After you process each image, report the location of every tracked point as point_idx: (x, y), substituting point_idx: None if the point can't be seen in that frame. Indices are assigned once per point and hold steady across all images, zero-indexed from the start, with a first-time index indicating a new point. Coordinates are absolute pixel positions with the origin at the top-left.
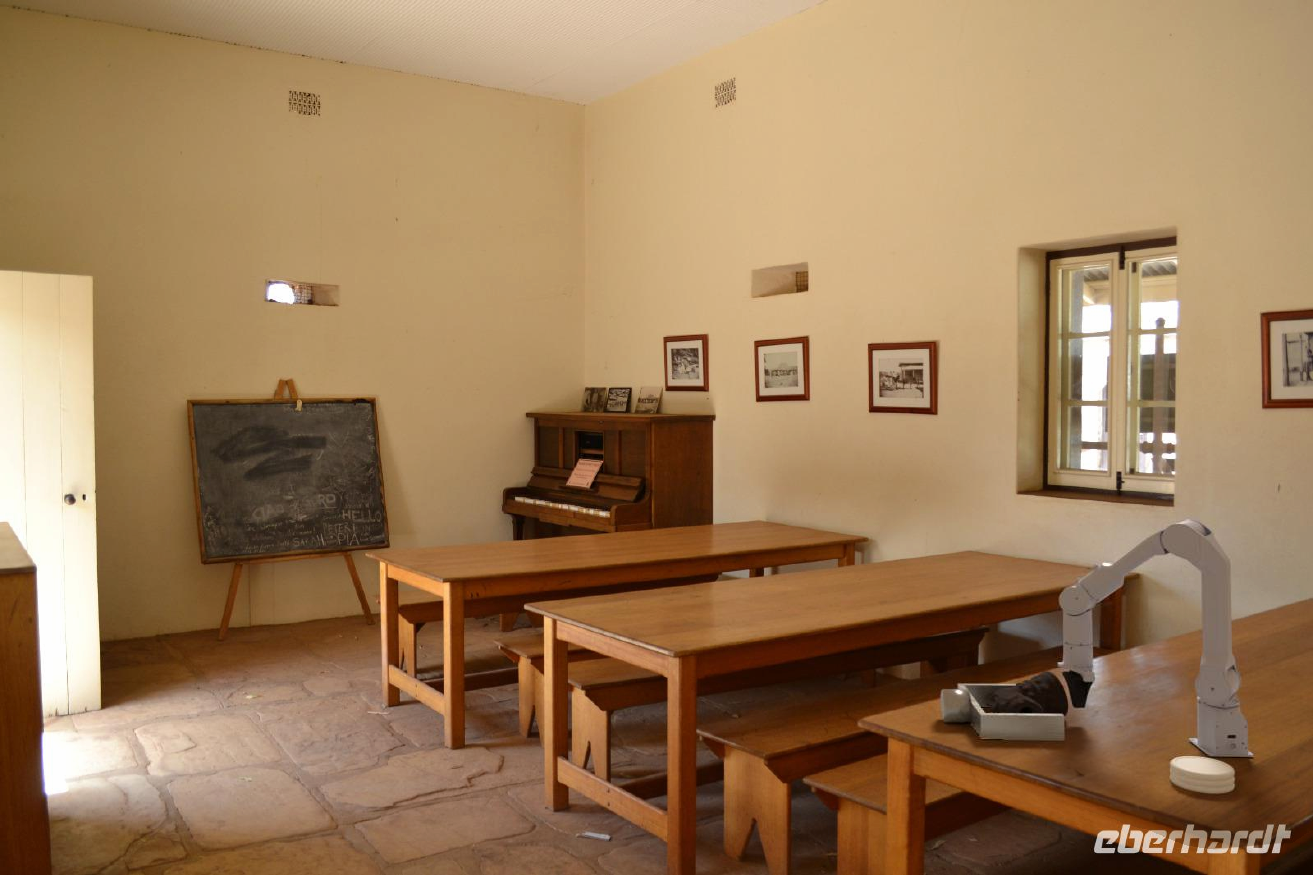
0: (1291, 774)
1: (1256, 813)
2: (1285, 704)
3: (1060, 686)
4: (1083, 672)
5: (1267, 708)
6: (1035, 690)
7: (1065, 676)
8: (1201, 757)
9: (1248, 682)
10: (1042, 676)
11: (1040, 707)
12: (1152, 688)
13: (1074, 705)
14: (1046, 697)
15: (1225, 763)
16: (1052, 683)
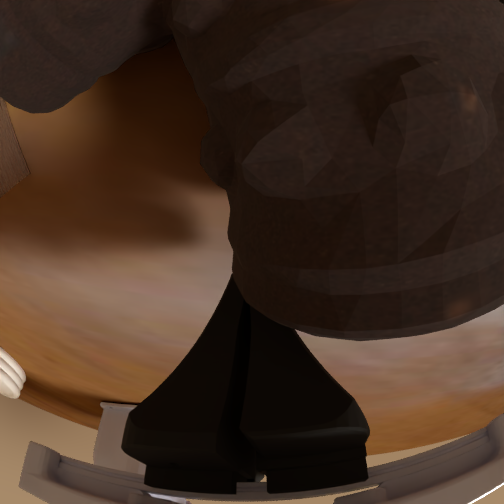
0: (95, 426)
1: None
2: (386, 449)
3: (262, 303)
4: (27, 487)
5: (374, 446)
6: (237, 40)
7: (208, 427)
8: (9, 388)
9: (468, 421)
10: (486, 191)
11: (15, 106)
12: (500, 369)
13: (230, 280)
14: (206, 136)
15: (10, 397)
16: (295, 257)
